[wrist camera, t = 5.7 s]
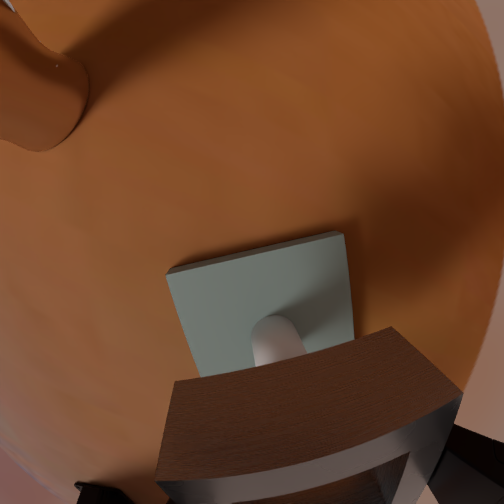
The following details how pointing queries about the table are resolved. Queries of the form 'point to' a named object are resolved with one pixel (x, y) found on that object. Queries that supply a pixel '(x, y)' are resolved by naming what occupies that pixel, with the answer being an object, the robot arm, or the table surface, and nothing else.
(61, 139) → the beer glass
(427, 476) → the square ring block
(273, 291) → the shaft block
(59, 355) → the table surface
